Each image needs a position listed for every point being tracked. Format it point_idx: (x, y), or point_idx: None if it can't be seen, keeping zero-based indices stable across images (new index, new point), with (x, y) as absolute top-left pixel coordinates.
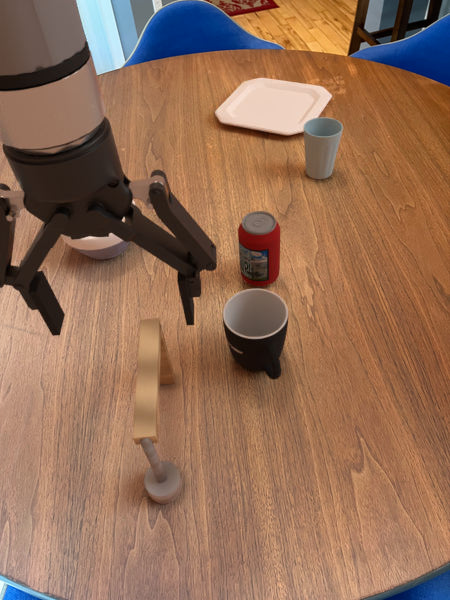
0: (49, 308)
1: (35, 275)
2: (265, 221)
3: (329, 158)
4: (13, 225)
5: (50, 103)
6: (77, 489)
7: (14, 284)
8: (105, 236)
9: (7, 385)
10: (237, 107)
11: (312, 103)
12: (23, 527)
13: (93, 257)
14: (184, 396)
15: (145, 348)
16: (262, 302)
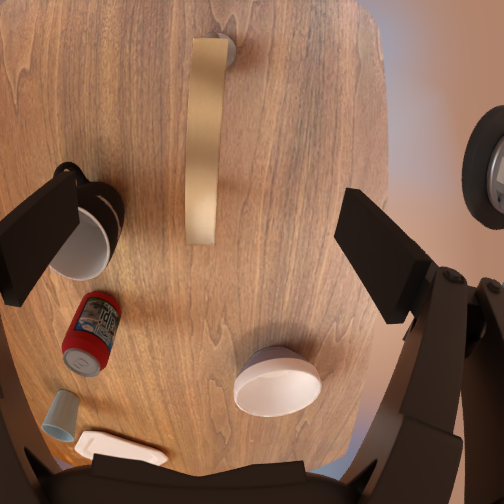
0: (371, 231)
1: (405, 311)
2: (74, 363)
3: (53, 406)
4: (488, 465)
5: None
6: (315, 69)
7: (464, 281)
8: (108, 458)
9: (385, 210)
10: (149, 458)
11: (87, 447)
12: (366, 49)
13: (287, 349)
14: (185, 159)
15: (205, 192)
16: (74, 262)
